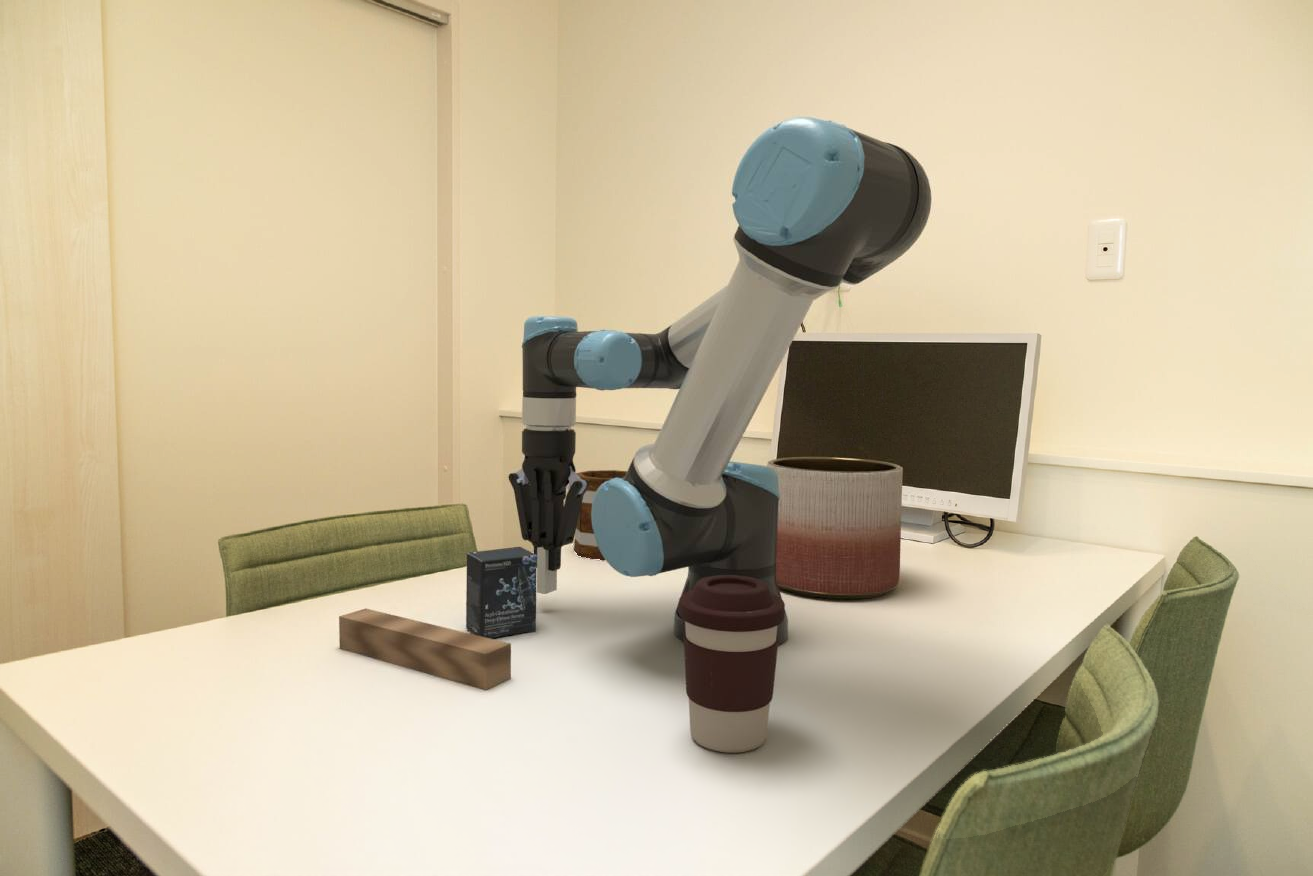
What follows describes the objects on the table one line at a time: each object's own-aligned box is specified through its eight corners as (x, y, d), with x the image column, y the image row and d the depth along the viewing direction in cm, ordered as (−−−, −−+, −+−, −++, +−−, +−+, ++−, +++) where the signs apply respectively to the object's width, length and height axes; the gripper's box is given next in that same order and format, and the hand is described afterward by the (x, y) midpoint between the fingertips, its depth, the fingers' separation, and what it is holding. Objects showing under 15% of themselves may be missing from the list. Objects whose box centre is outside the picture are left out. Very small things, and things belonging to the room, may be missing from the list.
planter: (747, 592, 127) (750, 466, 126) (779, 562, 148) (782, 454, 146) (891, 610, 119) (897, 476, 118) (904, 576, 140) (909, 461, 138)
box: (481, 642, 102) (480, 560, 102) (465, 629, 107) (465, 551, 106) (537, 631, 107) (537, 553, 106) (520, 620, 111) (520, 545, 111)
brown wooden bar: (510, 678, 91) (510, 643, 90) (486, 690, 87) (486, 654, 87) (366, 639, 103) (365, 608, 102) (339, 648, 99) (339, 616, 99)
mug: (558, 550, 154) (559, 473, 153) (615, 542, 163) (616, 468, 162) (620, 571, 139) (622, 485, 138) (679, 560, 148) (681, 479, 147)
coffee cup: (671, 716, 81) (674, 570, 80) (767, 714, 82) (771, 569, 81) (682, 763, 72) (686, 598, 70) (792, 761, 72) (797, 597, 71)
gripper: (602, 429, 113) (599, 592, 115) (530, 423, 120) (528, 578, 122) (570, 432, 107) (567, 605, 109) (495, 426, 113) (494, 589, 116)
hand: (546, 591), depth 116 cm, fingers closed
